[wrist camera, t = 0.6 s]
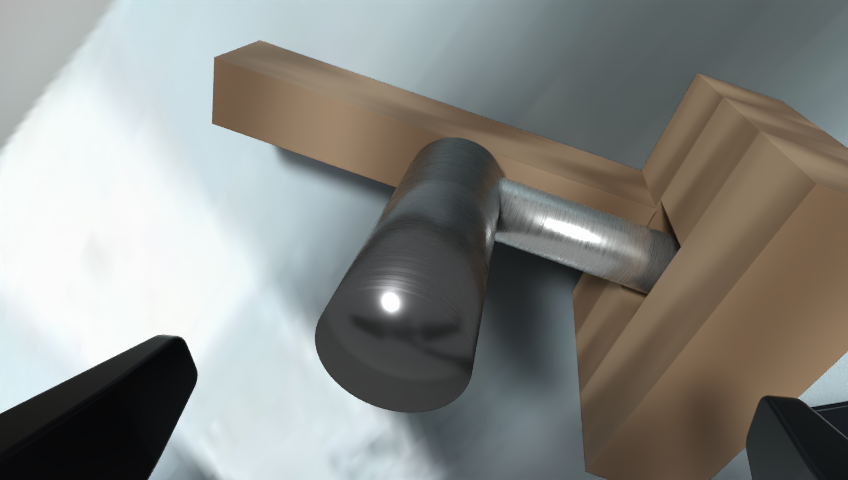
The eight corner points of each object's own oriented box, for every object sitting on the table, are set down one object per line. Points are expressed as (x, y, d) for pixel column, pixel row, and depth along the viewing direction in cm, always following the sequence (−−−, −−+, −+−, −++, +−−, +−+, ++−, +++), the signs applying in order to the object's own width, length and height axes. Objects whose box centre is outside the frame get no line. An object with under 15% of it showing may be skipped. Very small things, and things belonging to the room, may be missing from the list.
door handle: (817, 255, 16) (1037, 517, 9) (754, 326, 18) (894, 594, 11) (424, 120, 16) (328, 267, 9) (400, 203, 18) (305, 381, 11)
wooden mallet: (782, 101, 17) (970, 236, 9) (636, 314, 22) (682, 506, 15) (268, -71, 18) (59, -73, 10) (248, 178, 23) (103, 297, 15)
